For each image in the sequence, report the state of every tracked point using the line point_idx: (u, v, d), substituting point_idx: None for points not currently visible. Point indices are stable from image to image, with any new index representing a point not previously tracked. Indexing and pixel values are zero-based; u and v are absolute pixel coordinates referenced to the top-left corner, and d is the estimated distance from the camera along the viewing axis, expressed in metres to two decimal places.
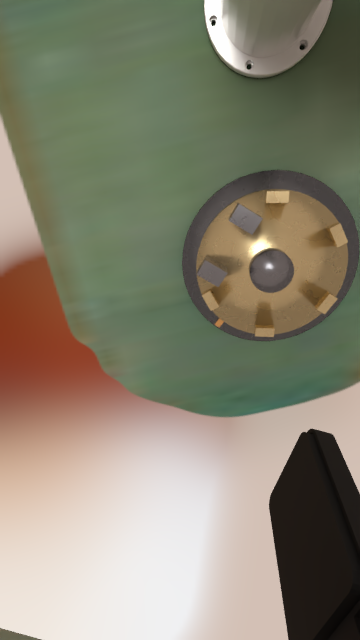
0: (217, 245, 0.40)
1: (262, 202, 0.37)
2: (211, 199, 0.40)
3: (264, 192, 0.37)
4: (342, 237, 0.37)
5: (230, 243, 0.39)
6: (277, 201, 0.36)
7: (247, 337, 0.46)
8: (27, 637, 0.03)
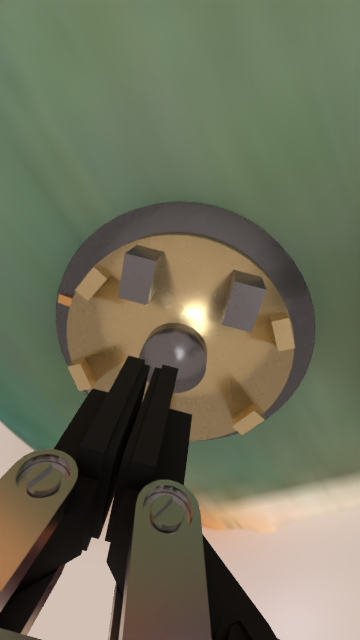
0: (185, 265, 0.23)
1: (269, 312, 0.24)
2: (253, 227, 0.24)
3: (284, 311, 0.23)
4: (246, 427, 0.27)
5: (194, 285, 0.24)
6: (277, 336, 0.23)
7: (63, 346, 0.30)
8: (27, 637, 0.03)
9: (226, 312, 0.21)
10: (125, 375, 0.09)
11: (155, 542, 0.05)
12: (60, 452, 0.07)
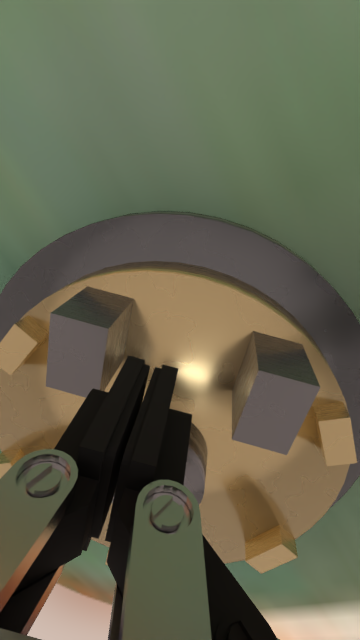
0: (169, 321, 0.14)
1: None
2: (285, 256, 0.14)
3: (338, 399, 0.14)
4: (268, 564, 0.17)
5: (186, 352, 0.14)
6: (326, 444, 0.14)
7: None
8: (27, 637, 0.03)
9: (241, 420, 0.11)
10: (125, 375, 0.09)
11: (155, 542, 0.05)
12: (60, 452, 0.07)
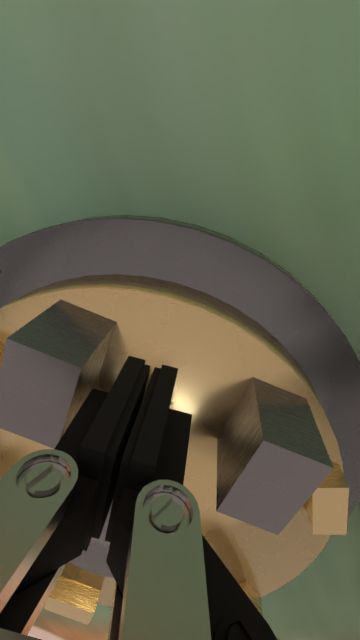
0: (156, 353, 0.11)
1: None
2: (300, 295, 0.12)
3: (335, 462, 0.12)
4: None
5: None
6: (316, 512, 0.12)
7: None
8: (27, 637, 0.03)
9: (231, 492, 0.09)
10: (125, 375, 0.09)
11: (155, 542, 0.05)
12: (60, 452, 0.06)
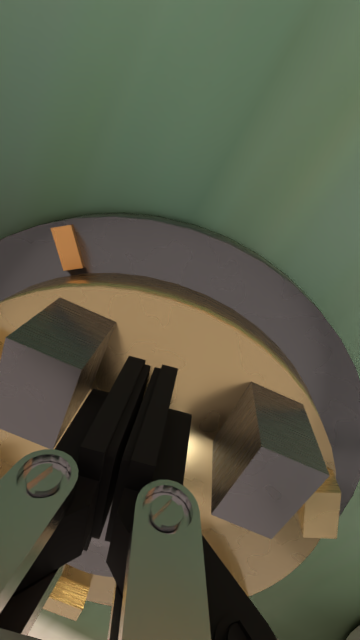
0: (155, 355, 0.11)
1: None
2: (354, 478, 0.15)
3: (328, 467, 0.12)
4: None
5: None
6: (308, 516, 0.12)
7: None
8: (27, 637, 0.03)
9: (227, 496, 0.09)
10: (125, 375, 0.09)
11: (154, 542, 0.05)
12: (60, 452, 0.07)
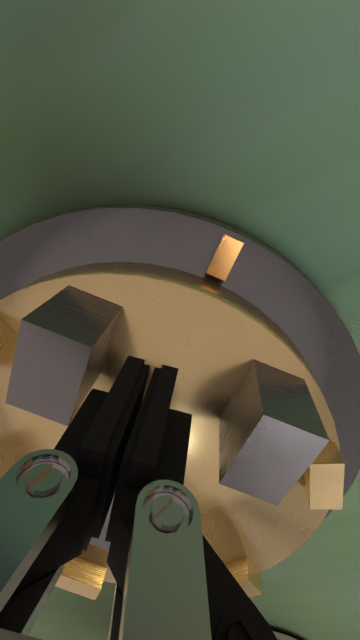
0: (161, 337, 0.12)
1: None
2: None
3: (332, 440, 0.13)
4: None
5: None
6: (314, 488, 0.12)
7: (112, 216, 0.12)
8: (27, 637, 0.03)
9: (233, 465, 0.10)
10: (125, 375, 0.09)
11: (155, 542, 0.05)
12: (60, 452, 0.07)
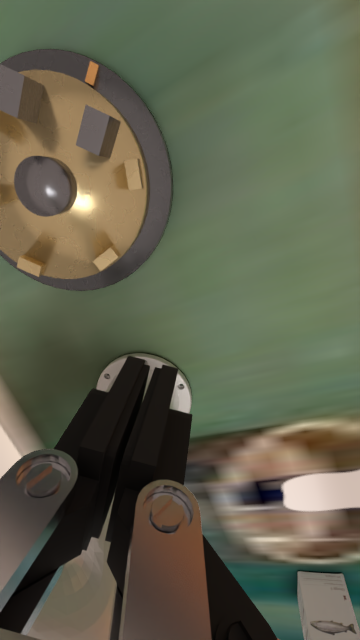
0: (60, 101, 0.28)
1: (126, 157, 0.29)
2: (149, 252, 0.34)
3: (138, 157, 0.29)
4: (104, 263, 0.32)
5: (68, 122, 0.28)
6: (128, 175, 0.29)
7: (43, 53, 0.28)
8: (27, 637, 0.03)
9: (79, 133, 0.26)
10: (125, 375, 0.09)
11: (155, 542, 0.05)
12: (60, 452, 0.07)
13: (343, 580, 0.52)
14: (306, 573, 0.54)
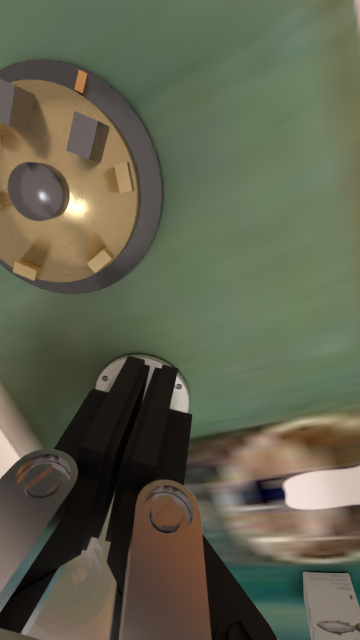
0: (51, 109, 0.29)
1: (116, 161, 0.30)
2: (142, 253, 0.35)
3: (127, 161, 0.30)
4: (97, 265, 0.33)
5: (58, 128, 0.29)
6: (118, 178, 0.29)
7: (33, 64, 0.29)
8: (27, 637, 0.03)
9: (69, 139, 0.27)
10: (125, 375, 0.09)
11: (155, 542, 0.05)
12: (60, 452, 0.07)
13: (349, 579, 0.52)
14: (311, 573, 0.53)
